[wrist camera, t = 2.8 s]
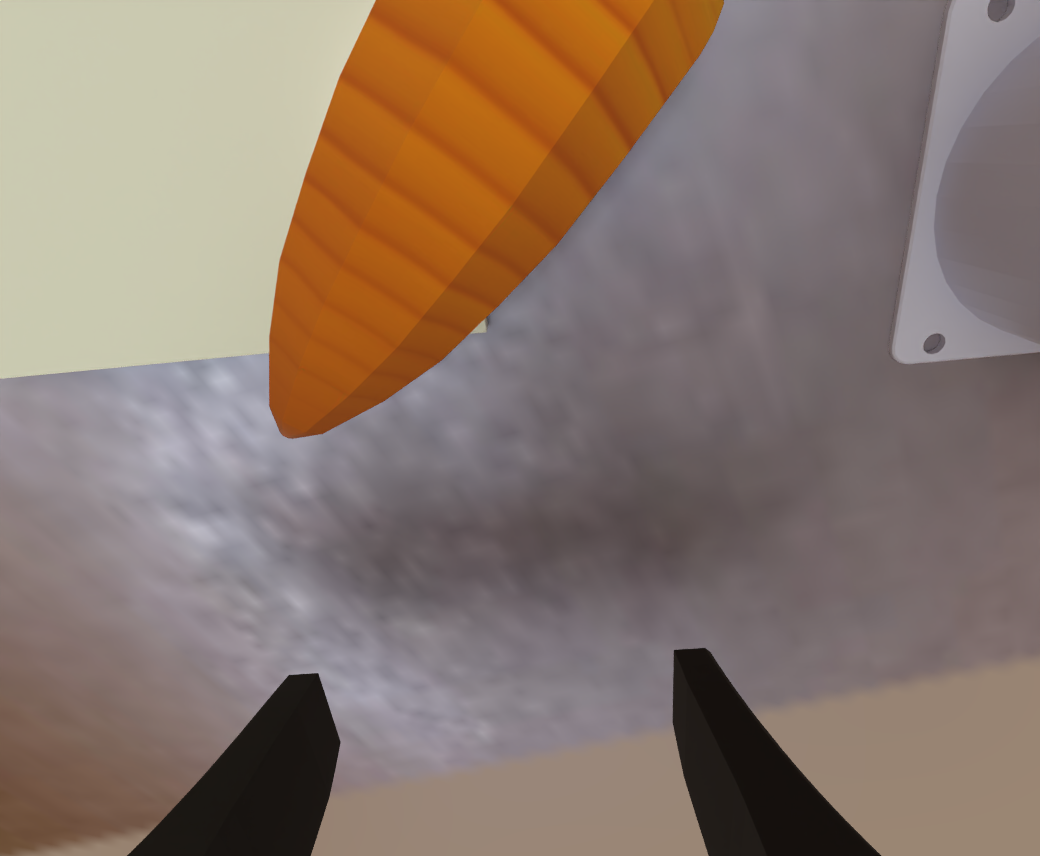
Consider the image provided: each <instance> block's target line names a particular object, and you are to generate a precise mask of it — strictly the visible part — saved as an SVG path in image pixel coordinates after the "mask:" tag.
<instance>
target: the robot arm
mask: <svg viewBox="0 0 1040 856" xmlns="http://www.w3.org/2000/svg"><path fill="white" fill-rule="evenodd" d="M989 2H990V0H948V2H947V4H946V7H945V10H944V13H943V18H942V24H941V30H940V36H939V42H938V48H937V54H936V60H935V66H934V72H933V78H932V85H931V91H930V97H929V103H928V109H927V115H926V121H925V127H924V133H923V139H922V145H921V151H920V157H919V163H918V169H917V175H916V181H915V187H914V194H913V200H912V206H911V212H910V218H909V224H908V230H907V236H906V242H905V248H904V254H903V260H902V266H901V272H900V278H899V284H898V290H897V297H896V303H895V309H894V315H893V321H892V327H891V333H890V339H889V345H888V346H889V353H890V355H891V357H892V358H893V359H895V360H896V361H898V362H900V363H903V364H916V363H927V362H938V361H949V360H960V359H971V358H983V357H994V356H1005V355H1016V354H1027V353H1038V352H1040V0H1008V7H1007V10H1006V12H1005V14H1004V16H1003V17H1002V18H1001V19H1000V20H999V21H997V22H995V21H991V19H990V18H989V17H988V11H987V7H988V5H989ZM936 333H938V334H939V335H940V342H939V344H938V346H937V347H936V348H934V349H933V350H931V351H928V352H926V351H924V348H923V344H924V342H925V340H926V339H927V338H928V337H929V336H930V335H933V334H936ZM673 726H674V731H675V736H676V741H677V746H678V751H679V755H680V760H681V765H682V769H683V774H684V778H685V781H686V785H687V788H688V791H689V794H690V798H691V801H692V804H693V807H694V810H695V814H696V817H697V820H698V823H699V826H700V830H701V833H702V836H703V839H704V842H705V846H706V849H707V852H708V855H709V856H881V855H880V854H879V853H878V852H877V851H876V850H875V849H874V848H873V847H872V846H871V845H870V844H869V843H868V842H867V841H866V840H865V839H864V838H863V837H862V836H861V835H860V834H859V833H858V832H857V831H856V830H855V829H854V828H853V827H852V826H851V825H850V824H849V823H848V822H847V821H845V819H844V818H843V817H842V816H841V815H840V814H839V813H838V812H837V811H836V810H835V809H834V808H833V807H832V805H831V804H830V803H829V802H828V801H827V800H826V799H825V798H824V797H823V796H822V795H821V794H820V793H819V792H818V790H817V789H816V788H815V787H814V786H813V785H812V784H811V782H810V781H809V780H808V779H807V778H806V777H805V776H804V775H803V773H802V772H801V771H800V770H799V769H798V768H797V767H796V765H795V764H794V763H793V762H792V761H791V759H790V758H789V757H788V756H787V755H786V754H785V752H784V751H783V750H782V749H781V748H780V746H779V745H778V744H777V743H776V741H775V740H774V739H773V738H772V736H771V735H770V734H769V733H768V731H767V730H766V729H765V728H764V726H763V725H762V724H761V723H760V721H759V720H758V719H757V718H756V716H755V715H754V714H753V712H752V711H751V710H750V708H749V707H748V706H747V704H746V703H745V702H744V700H743V699H742V698H741V696H740V695H739V694H738V692H737V691H736V689H735V688H734V687H733V685H732V684H731V682H730V681H729V680H728V678H727V677H726V675H725V674H724V672H723V671H722V669H721V668H720V666H719V665H718V663H717V662H716V660H715V659H714V657H713V656H712V654H711V652H709V651H708V650H707V649H706V648H698V649H682V650H674V678H673ZM339 747H340V739H339V736H338V733H337V730H336V727H335V724H334V721H333V718H332V714H331V711H330V708H329V705H328V702H327V699H326V696H325V693H324V690H323V687H322V684H321V681H320V677H319V674H318V673H314V674H299V675H289V676H288V677H287V678H286V679H285V680H284V682H283V683H282V684H281V685H280V686H279V687H278V688H277V690H276V691H275V692H274V693H273V694H272V696H271V697H270V698H269V699H268V700H267V702H266V703H265V704H264V705H263V706H262V708H261V709H260V710H259V711H258V712H257V714H256V715H255V716H254V717H253V718H252V720H251V721H250V722H249V723H248V724H247V726H246V727H245V728H244V729H243V730H242V732H241V733H240V734H239V735H238V736H237V738H236V739H235V740H234V741H233V742H232V743H231V745H230V746H229V747H228V748H227V749H226V750H225V751H224V753H223V754H222V755H221V756H220V757H219V758H218V760H217V761H216V762H215V763H214V764H213V765H212V766H211V768H210V769H209V770H208V771H207V772H206V773H205V775H204V776H203V777H202V778H201V779H200V780H199V781H198V782H197V784H196V785H195V786H194V787H193V788H192V789H191V790H190V791H189V792H188V793H187V794H186V795H185V796H184V798H183V799H182V800H181V801H180V802H179V803H178V804H177V805H176V806H175V807H174V808H173V809H172V810H171V811H170V813H169V814H168V815H167V816H166V817H165V818H164V819H163V820H162V821H161V822H160V823H159V824H158V825H157V826H156V827H155V828H154V829H153V830H152V831H151V832H150V833H149V835H148V836H147V837H146V838H145V839H144V840H143V841H142V842H141V843H140V844H139V845H138V846H137V847H136V848H135V849H134V850H133V851H132V852H131V853H129V854H128V855H127V856H311V853H312V850H313V847H314V844H315V841H316V838H317V834H318V831H319V828H320V825H321V822H322V818H323V816H324V812H325V809H326V806H327V803H328V800H329V796H330V791H331V787H332V782H333V778H334V773H335V768H336V763H337V758H338V752H339Z"/></svg>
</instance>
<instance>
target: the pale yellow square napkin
mask: <svg viewBox="0 0 1040 856" xmlns="http://www.w3.org/2000/svg"><path fill="white" fill-rule="evenodd" d="M375 1H376V0H0V379H2V378H12V377H23V376H33V375H44V374H54V373H64V372H75V371H85V370H96V369H106V368H117V367H127V366H138V365H148V364H159V363H169V362H179V361H190V360H200V359H211V358H221V357H232V356H242V355H253V354H263V353H269V334H270V327H271V319H272V312H273V304H274V297H275V289H276V282H277V274H278V267H279V260H280V257H281V253H282V250H283V247H284V243H285V240H286V237H287V234H288V230H289V227H290V224H291V220H292V217H293V214H294V210H295V207H296V204H297V200H298V197H299V194H300V190H301V187H302V184H303V180H304V177H305V174H306V171H307V168H308V165H309V162H310V159H311V156H312V154H313V151H314V148H315V145H316V142H317V139H318V136H319V133H320V131H321V128H322V125H323V122H324V119H325V116H326V113H327V110H328V108H329V105H330V102H331V99H332V96H333V93H334V90H335V88H336V85H337V82H338V79H339V76H340V74H341V72H342V70H343V68H344V66H345V64H346V62H347V60H348V58H349V55H350V53H351V51H352V49H353V47H354V45H355V43H356V41H357V39H358V36H359V34H360V32H361V30H362V28H363V26H364V24H365V22H366V20H367V18H368V15H369V13H370V11H371V9H372V7H373V5H374V3H375ZM487 327H488V323H487V317H486V318H485V319H484V320H483V321H482V322H481V323H480V324H479V325H478V326H477V327H476V328H475V329H474V330H473V331H472V332H471V333H470V334H472V333H483V332H487Z"/></svg>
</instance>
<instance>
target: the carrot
mask: <svg viewBox="0 0 1040 856" xmlns="http://www.w3.org/2000/svg"><path fill="white" fill-rule="evenodd" d="M723 5H724V0H376V1H375V3H374V5H373V7H372V9H371V11H370V13H369V15H368V18H367V20H366V22H365V24H364V26H363V28H362V30H361V32H360V34H359V36H358V39H357V41H356V43H355V45H354V47H353V49H352V51H351V53H350V55H349V58H348V60H347V62H346V64H345V66H344V68H343V70H342V72H341V74H340V76H339V79H338V82H337V85H336V88H335V90H334V93H333V96H332V99H331V102H330V105H329V108H328V110H327V113H326V116H325V119H324V122H323V125H322V128H321V131H320V133H319V136H318V139H317V142H316V145H315V148H314V151H313V154H312V156H311V159H310V162H309V165H308V168H307V171H306V174H305V177H304V180H303V184H302V187H301V190H300V194H299V197H298V200H297V204H296V207H295V210H294V214H293V217H292V220H291V224H290V227H289V230H288V234H287V237H286V240H285V243H284V247H283V250H282V253H281V257H280V260H279V267H278V274H277V282H276V289H275V297H274V304H273V312H272V319H271V327H270V334H269V407H270V409H271V411H272V414H273V416H274V419H275V421H276V423H277V426H278V428H279V431H280V433H281V434H282V435H283V436H285V437H287V438H292V439H293V438H299V437H306V436H312V435H318V434H323V433H325V432H327V431H329V430H331V429H332V428H334V427H336V426H338V425H340V424H342V423H344V422H346V421H347V420H349V419H351V418H353V417H355V416H357V415H359V414H361V413H362V412H364V411H366V410H368V409H370V408H372V407H374V406H376V405H377V404H379V403H381V402H383V401H385V400H386V399H388V398H389V397H390V396H392V395H393V394H395V393H396V392H398V391H399V390H400V389H402V388H403V387H405V386H406V385H407V384H409V383H410V382H412V381H413V380H415V379H416V378H417V377H419V376H420V375H422V374H423V373H424V372H426V371H427V370H429V369H430V368H432V367H433V366H434V365H436V364H437V363H439V362H440V361H441V360H442V359H444V358H445V357H446V356H447V355H448V354H449V353H450V352H451V351H452V350H453V349H454V348H455V347H456V346H457V345H458V344H459V343H460V342H461V341H462V340H463V339H464V338H465V337H466V336H467V335H468V334H470V333H471V332H472V331H473V330H474V329H475V328H476V327H477V326H478V325H479V324H480V323H481V322H482V321H483V320H484V319H485V318H486V317H487V316H488V315H489V314H490V313H491V312H492V311H493V310H494V309H496V308H497V307H498V306H499V305H500V304H501V303H502V301H503V300H504V299H505V298H506V297H507V296H508V295H509V294H510V293H511V292H512V291H513V290H514V289H515V288H516V287H517V286H518V285H519V284H520V283H521V282H522V281H523V280H524V279H525V277H526V276H527V275H528V274H529V273H530V272H531V271H532V270H533V269H534V268H535V267H536V266H537V265H538V264H539V263H540V262H541V261H542V260H543V259H544V258H545V257H546V256H547V254H548V253H549V252H550V251H551V250H552V249H553V248H554V247H555V246H556V245H557V244H558V243H559V241H560V240H561V239H562V238H563V236H564V235H565V234H566V232H567V231H568V230H569V229H570V227H571V226H572V225H573V223H574V222H575V221H576V220H577V218H578V217H579V216H580V214H581V213H582V212H583V210H584V209H585V208H586V207H587V205H588V204H589V203H590V201H591V200H592V199H593V198H594V196H595V195H596V194H597V192H598V191H599V190H600V189H601V187H602V186H603V185H604V183H605V182H606V181H607V180H608V178H609V177H610V176H611V174H612V173H613V172H614V171H615V169H616V168H617V167H618V165H619V164H620V163H621V162H622V160H623V159H624V158H625V156H626V155H627V154H628V152H629V151H630V150H631V148H632V147H633V146H634V144H635V143H636V141H637V140H638V139H639V137H640V136H641V135H642V133H643V132H644V131H645V129H646V128H647V126H648V125H649V124H650V122H651V121H652V120H653V118H654V117H655V116H656V114H657V113H658V111H659V110H660V109H661V107H662V106H663V105H664V103H665V102H666V101H667V99H668V98H669V96H670V95H671V94H672V92H673V91H674V90H675V88H676V87H677V85H678V84H679V83H680V81H681V80H682V79H683V77H684V76H685V75H686V73H687V72H688V70H689V69H690V68H691V66H692V65H693V64H694V62H695V61H696V60H697V58H698V57H699V55H700V54H701V52H702V50H703V49H704V47H705V45H706V43H707V42H708V40H709V38H710V36H711V35H712V33H713V31H714V29H715V26H716V23H717V21H718V18H719V15H720V13H721V10H722V7H723Z"/></svg>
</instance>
